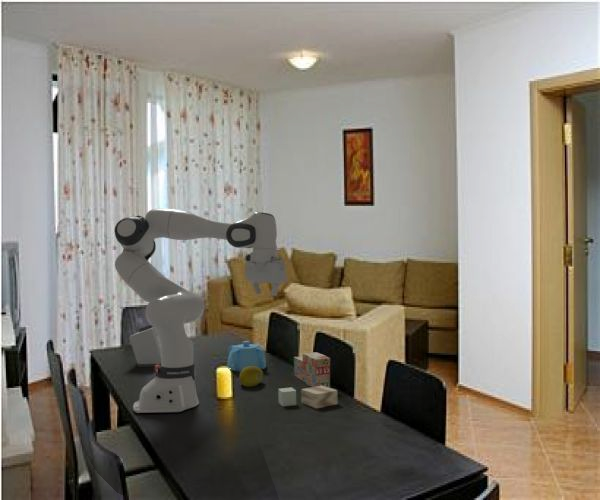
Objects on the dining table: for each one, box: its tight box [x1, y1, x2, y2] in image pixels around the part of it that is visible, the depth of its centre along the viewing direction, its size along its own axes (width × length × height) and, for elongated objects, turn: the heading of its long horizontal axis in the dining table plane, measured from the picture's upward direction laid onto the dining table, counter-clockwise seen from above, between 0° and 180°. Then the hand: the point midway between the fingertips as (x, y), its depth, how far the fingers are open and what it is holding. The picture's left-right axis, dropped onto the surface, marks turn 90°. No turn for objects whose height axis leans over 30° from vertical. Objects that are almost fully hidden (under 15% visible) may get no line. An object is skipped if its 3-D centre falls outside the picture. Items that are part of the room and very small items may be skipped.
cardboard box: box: [293, 352, 331, 388], centre depth 241 cm, size 21×6×12 cm, turn 23°
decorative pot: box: [226, 340, 267, 373], centre depth 263 cm, size 16×16×14 cm
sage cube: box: [277, 387, 297, 407], centre depth 213 cm, size 5×5×5 cm
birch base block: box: [300, 385, 339, 409], centre depth 213 cm, size 9×9×5 cm
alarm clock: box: [129, 323, 161, 368], centre depth 277 cm, size 20×16×20 cm
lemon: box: [238, 366, 264, 388], centre depth 239 cm, size 11×8×8 cm
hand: (265, 294), depth 223 cm, fingers open, 8 cm apart
